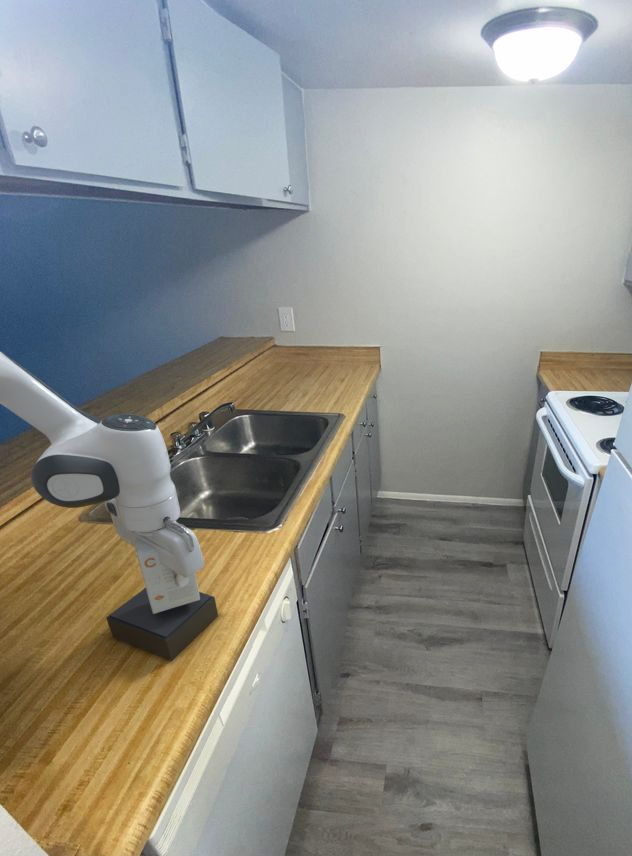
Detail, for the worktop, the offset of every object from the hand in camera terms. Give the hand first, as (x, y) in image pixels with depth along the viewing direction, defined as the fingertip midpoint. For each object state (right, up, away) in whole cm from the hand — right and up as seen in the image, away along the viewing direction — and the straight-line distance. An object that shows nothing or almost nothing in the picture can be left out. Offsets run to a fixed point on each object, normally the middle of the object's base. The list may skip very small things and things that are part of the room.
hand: (166, 574), depth 85 cm
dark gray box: (-3, -11, +5) cm, 13 cm away
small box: (0, -5, +3) cm, 6 cm away
